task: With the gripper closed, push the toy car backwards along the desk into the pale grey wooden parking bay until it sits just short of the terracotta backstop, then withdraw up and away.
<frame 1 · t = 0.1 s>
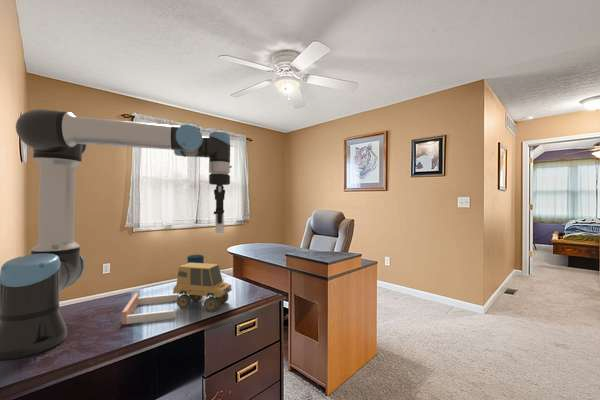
hand: (219, 230, 105), 28 cm above the table, fingers open, 13 cm apart
toy car: (202, 306, 105), on the table
cup: (195, 290, 122), on the table
bay: (153, 310, 99), on the table
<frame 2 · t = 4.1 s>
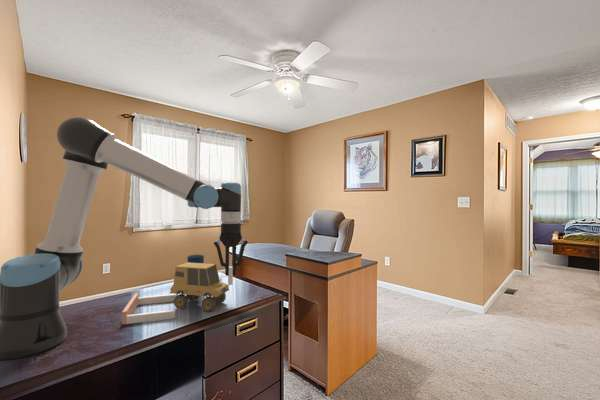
hand: (230, 283, 108), 7 cm above the table, fingers closed
toy car: (199, 306, 104), on the table, touching gripper
everything else where it was.
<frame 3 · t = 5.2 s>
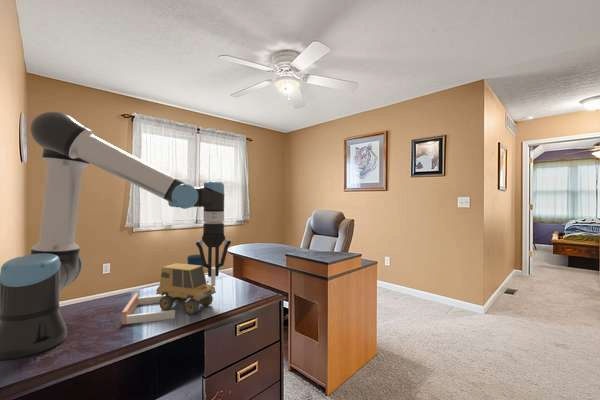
hand: (213, 285, 106), 7 cm above the table, fingers closed
toy car: (185, 308, 102), on the table, touching gripper
everything else where it was.
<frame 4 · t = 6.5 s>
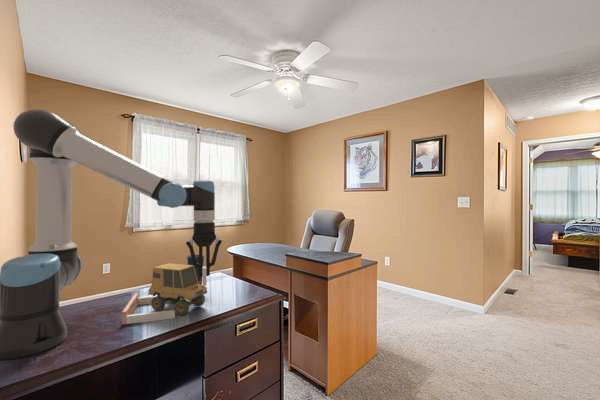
hand: (204, 284, 105), 8 cm above the table, fingers closed
toy car: (178, 308, 101), on the table, touching bay, gripper, hand
everything else where it was.
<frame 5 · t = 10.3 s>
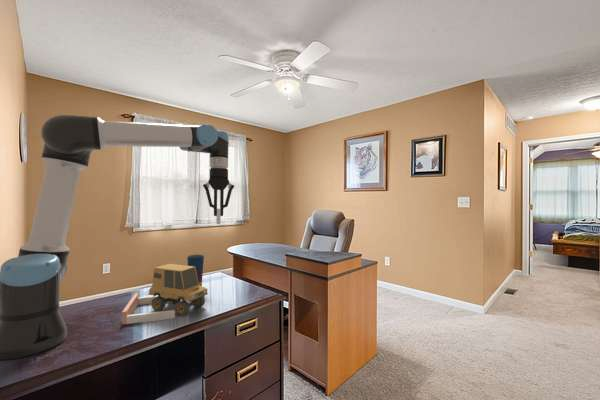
hand: (218, 223, 119), 29 cm above the table, fingers closed
toy car: (178, 309, 101), on the table
everything else where it was.
at the end: toy car inside the target area (5.1 cm from its centre), on the table; toy car tilted 0° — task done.
